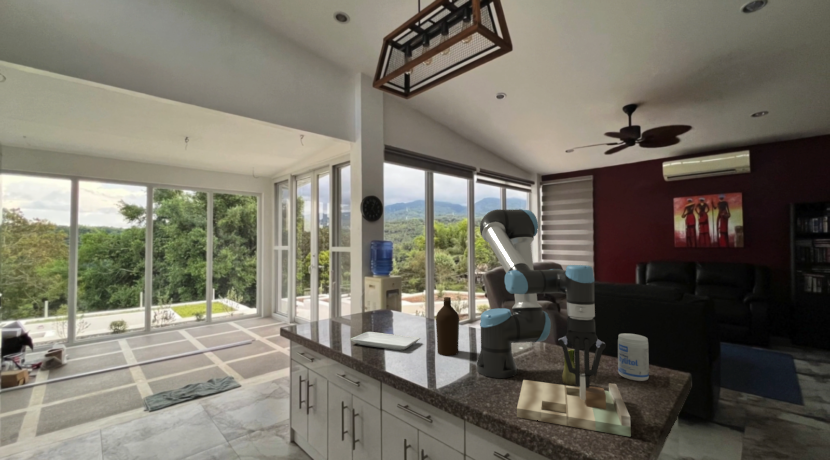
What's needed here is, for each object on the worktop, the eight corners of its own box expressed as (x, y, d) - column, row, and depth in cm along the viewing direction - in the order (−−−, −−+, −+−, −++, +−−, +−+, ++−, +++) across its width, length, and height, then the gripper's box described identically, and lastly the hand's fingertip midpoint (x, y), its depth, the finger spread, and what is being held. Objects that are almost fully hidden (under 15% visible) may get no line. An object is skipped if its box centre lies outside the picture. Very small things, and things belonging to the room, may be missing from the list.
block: (586, 406, 99) (586, 392, 99) (585, 399, 104) (584, 385, 104) (606, 409, 97) (605, 395, 98) (603, 401, 102) (603, 388, 102)
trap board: (517, 417, 99) (516, 399, 99) (523, 387, 119) (523, 372, 119) (630, 436, 88) (630, 416, 88) (616, 400, 108) (616, 384, 109)
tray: (367, 337, 185) (367, 330, 186) (421, 344, 172) (421, 336, 172) (348, 345, 170) (348, 338, 170) (406, 353, 157) (405, 346, 157)
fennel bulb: (573, 381, 124) (572, 347, 124) (582, 386, 119) (581, 351, 119) (558, 382, 123) (557, 348, 123) (566, 388, 118) (566, 352, 118)
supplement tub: (616, 377, 127) (614, 336, 127) (621, 370, 134) (619, 331, 135) (647, 384, 121) (646, 341, 121) (651, 376, 128) (649, 335, 128)
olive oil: (440, 357, 151) (439, 299, 152) (433, 350, 161) (432, 296, 162) (463, 355, 153) (462, 298, 154) (455, 348, 163) (454, 295, 164)
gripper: (557, 318, 102) (559, 399, 101) (607, 321, 97) (609, 407, 96) (557, 313, 109) (558, 389, 108) (603, 316, 104) (606, 396, 103)
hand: (582, 397), depth 102 cm, fingers closed
